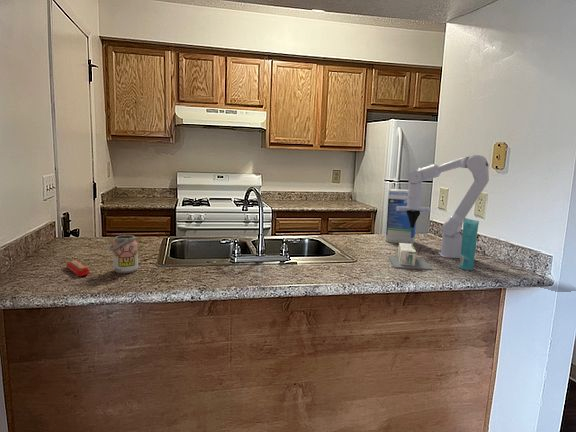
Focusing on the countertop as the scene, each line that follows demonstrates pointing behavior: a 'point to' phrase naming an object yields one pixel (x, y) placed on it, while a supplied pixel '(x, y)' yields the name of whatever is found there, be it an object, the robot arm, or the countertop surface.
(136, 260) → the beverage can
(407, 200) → the robot arm
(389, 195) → the string lights box
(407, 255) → the syrup box
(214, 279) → the countertop surface
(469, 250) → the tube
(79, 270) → the candy bar
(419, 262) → the mat
